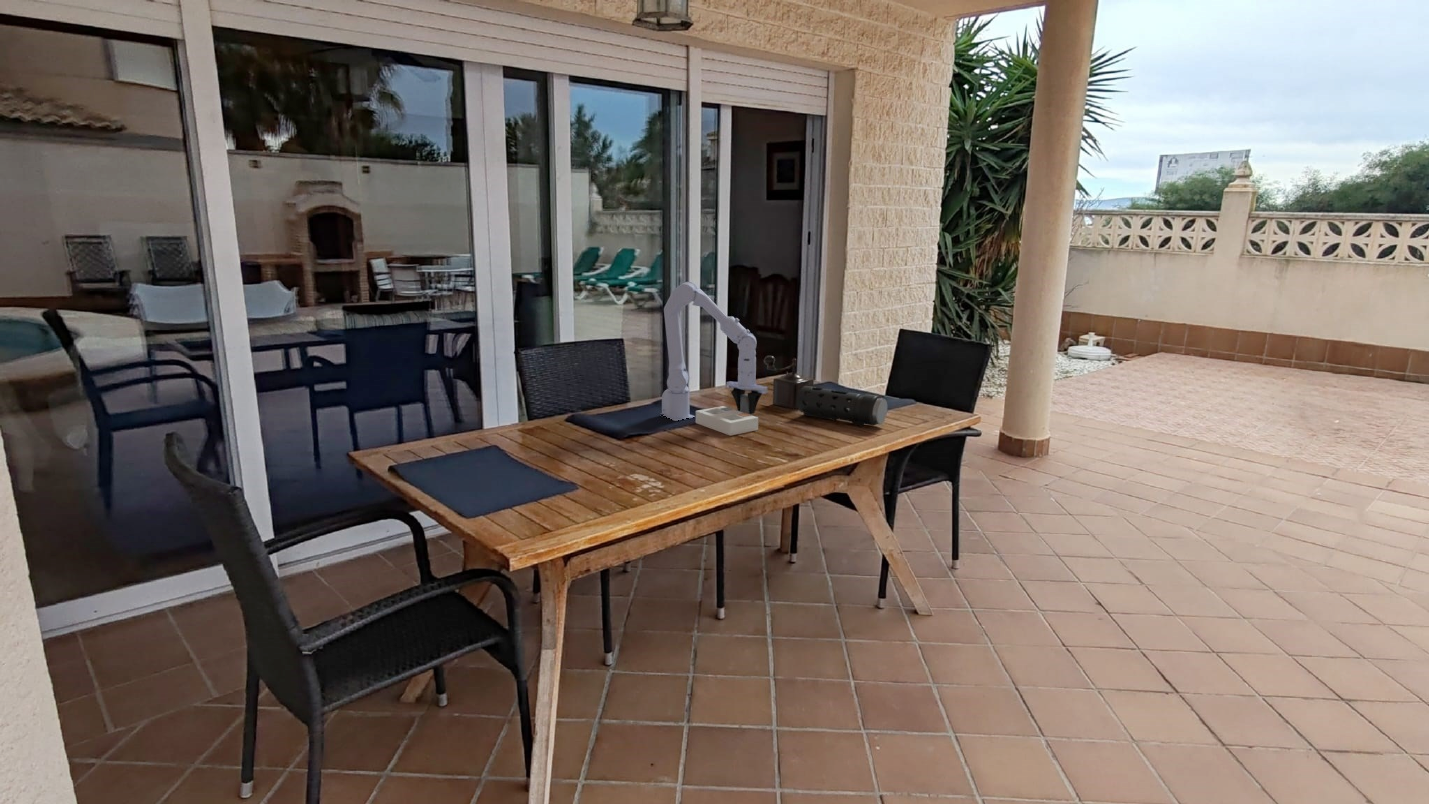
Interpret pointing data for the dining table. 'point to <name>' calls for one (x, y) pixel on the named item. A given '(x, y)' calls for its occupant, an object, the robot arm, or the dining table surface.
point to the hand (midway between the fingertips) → (746, 412)
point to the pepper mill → (787, 385)
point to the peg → (744, 403)
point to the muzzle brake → (842, 405)
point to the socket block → (727, 420)
